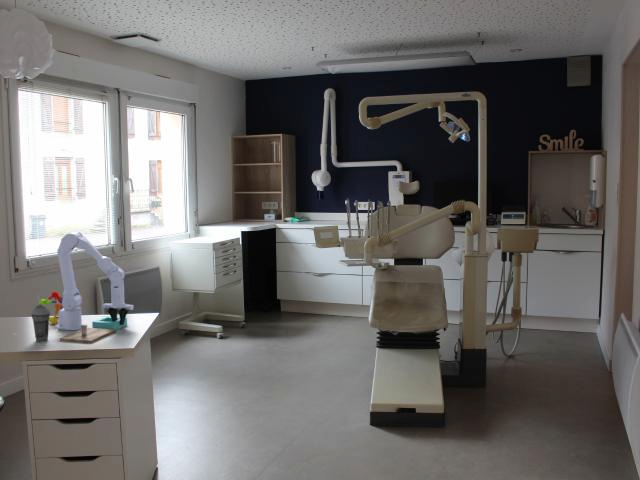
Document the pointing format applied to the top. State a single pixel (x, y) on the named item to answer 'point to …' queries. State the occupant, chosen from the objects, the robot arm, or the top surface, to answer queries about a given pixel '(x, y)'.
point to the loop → (108, 323)
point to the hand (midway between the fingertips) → (118, 324)
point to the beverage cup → (41, 322)
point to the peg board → (87, 335)
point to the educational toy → (57, 305)
